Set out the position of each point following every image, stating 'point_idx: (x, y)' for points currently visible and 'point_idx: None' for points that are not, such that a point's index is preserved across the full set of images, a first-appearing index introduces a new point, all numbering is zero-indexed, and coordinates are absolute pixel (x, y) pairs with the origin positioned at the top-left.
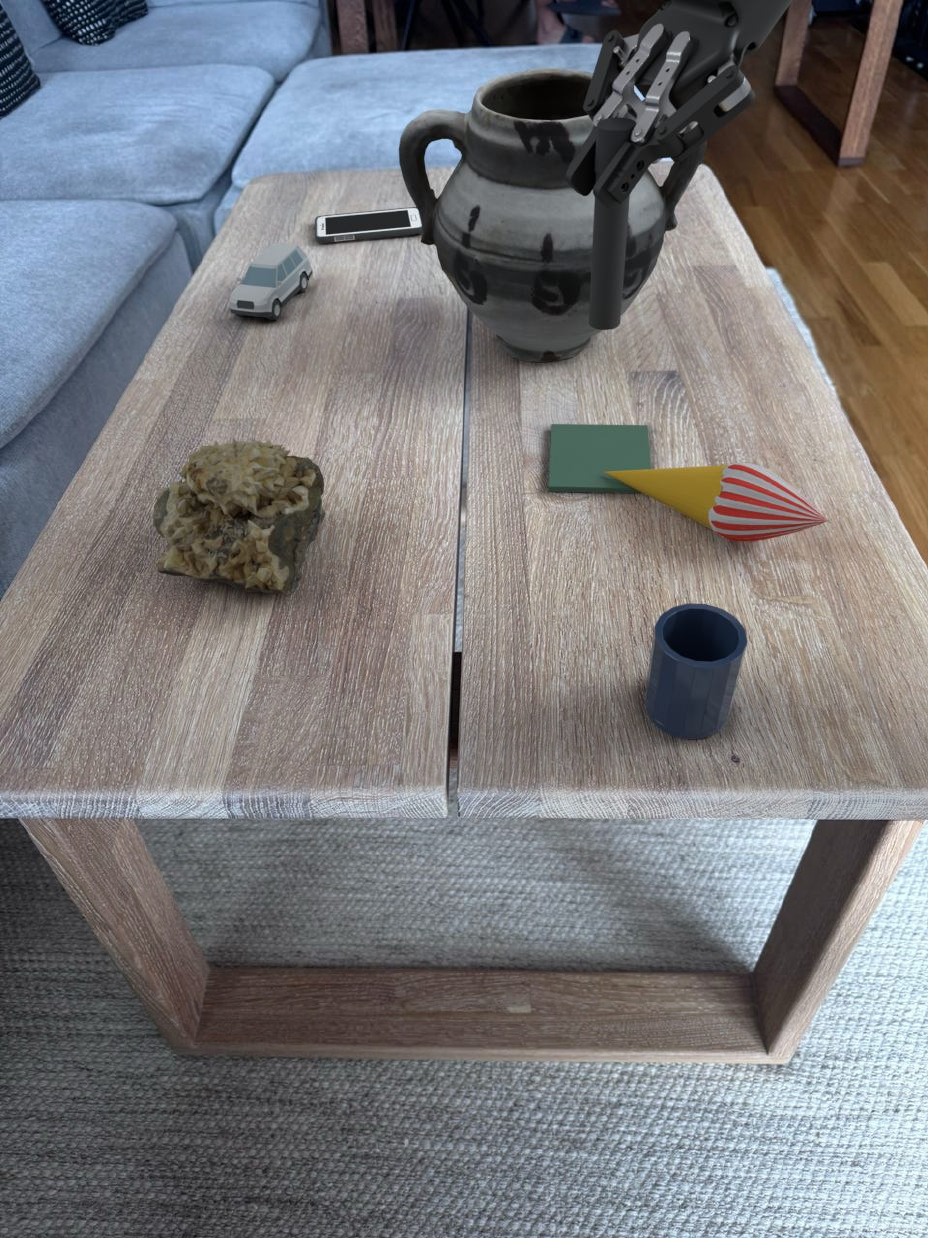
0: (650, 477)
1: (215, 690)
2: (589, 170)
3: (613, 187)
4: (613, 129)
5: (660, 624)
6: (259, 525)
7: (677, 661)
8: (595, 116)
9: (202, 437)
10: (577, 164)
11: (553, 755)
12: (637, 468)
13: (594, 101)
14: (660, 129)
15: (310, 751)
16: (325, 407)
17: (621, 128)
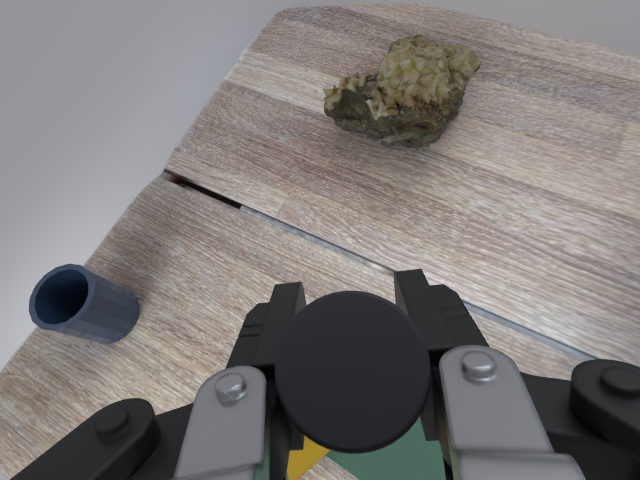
0: (304, 436)
1: (290, 84)
2: None
3: (253, 310)
4: (297, 316)
5: (87, 276)
6: (369, 88)
7: (57, 267)
8: (507, 362)
9: (595, 110)
10: (405, 284)
11: (138, 224)
12: (361, 460)
13: (605, 395)
14: (113, 414)
15: (221, 117)
16: (621, 214)
17: (285, 344)
